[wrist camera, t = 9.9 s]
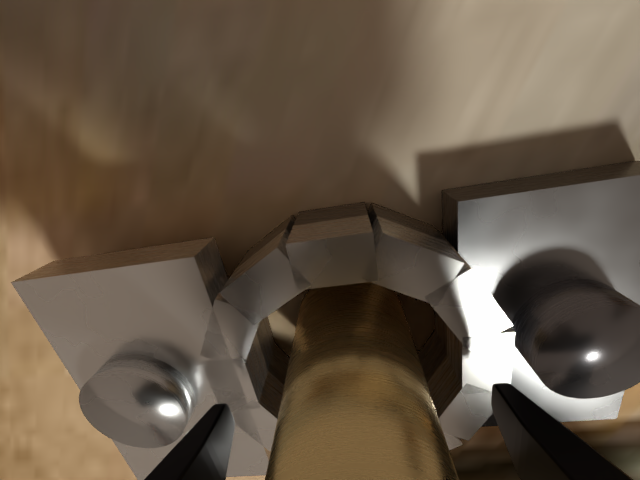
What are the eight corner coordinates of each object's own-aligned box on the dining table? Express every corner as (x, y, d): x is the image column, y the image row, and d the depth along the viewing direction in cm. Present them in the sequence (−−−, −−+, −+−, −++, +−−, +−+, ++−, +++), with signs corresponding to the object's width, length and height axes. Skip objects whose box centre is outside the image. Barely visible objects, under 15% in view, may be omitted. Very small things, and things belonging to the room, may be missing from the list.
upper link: (475, 185, 10) (546, 221, 7) (470, 395, 14) (515, 489, 10) (86, 244, 12) (-18, 297, 9) (173, 416, 16) (126, 502, 12)
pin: (399, 266, 12) (550, 645, 3) (406, 354, 13) (519, 753, 5) (289, 280, 12) (182, 634, 4) (309, 362, 14) (264, 737, 5)
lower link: (637, 160, 10) (757, 178, 7) (587, 387, 13) (653, 458, 11) (202, 226, 11) (158, 261, 9) (264, 410, 15) (248, 475, 12)
